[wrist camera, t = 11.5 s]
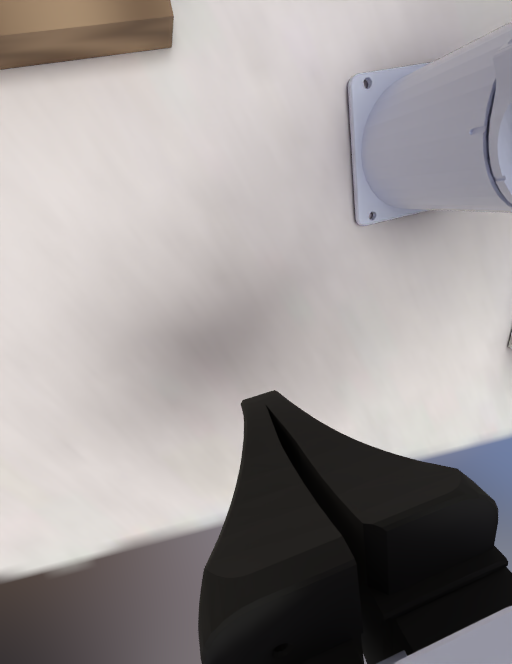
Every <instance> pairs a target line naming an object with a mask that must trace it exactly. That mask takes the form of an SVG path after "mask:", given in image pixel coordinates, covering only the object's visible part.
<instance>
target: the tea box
mask: <svg viewBox="0 0 512 664" xmlns="http://www.w3.org/2000/svg"><path fill="white" fill-rule="evenodd" d="M508 347H510V348H511V349H512V334H511V338H510V342H509V346H508Z"/></svg>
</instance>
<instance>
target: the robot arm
mask: <svg viewBox="0 0 512 664" xmlns="http://www.w3.org/2000/svg"><path fill="white" fill-rule="evenodd" d="M364 80H366V81H367V82H368V88H367V89H366V88H365V87H364V84H363V83H364ZM348 96H349V113H350V130H351V147H352V165H353V182H354V199H355V216H356V222H357V223H358V224H359V225H361V226H366V225H370V224H375V223H379V222H383V221H387V220H391V219H395V218H399V217H404V216H408V215H412V214H416V213H420V212H424V211H428V210H450V211H479V212H507V213H512V22H510V23H508V24H506V25H504V26H502V27H500V28H498V29H496V30H495V31H493V32H491V33H489V34H487V35H485V36H483V37H481V38H479V39H477V40H475V41H473V42H471V43H469V44H467V45H465V46H463V47H461V48H459V49H457V50H455V51H453V52H451V53H449V54H447V55H445V56H443V57H442V58H440V59H438V60H436V61H434V62H429V63H423V64H416V65H410V66H404V67H397V68H391V69H385V70H378V71H372V72H365V73H359V74H356V75H355V76H353V77H352V78H351V79H350V81H349V83H348ZM371 212H372V213H373V217H372V219H370V218H369V214H370V213H371ZM241 407H242V411H243V415H244V441H243V450H242V458H241V465H240V470H239V475H238V479H237V484H236V487H235V491H234V495H233V498H232V502H231V505H230V508H229V511H228V514H227V516H226V519H225V522H224V525H223V527H222V530H221V533H220V535H219V538H218V540H217V542H216V544H215V547H214V549H213V551H212V553H211V555H210V558H209V560H208V562H207V564H206V566H205V568H204V572H203V579H202V586H201V594H200V603H199V621H198V622H199V623H198V631H199V642H200V654H201V661H202V664H364V659H363V654H364V656H365V659H366V662H367V664H512V573H511V572H510V571H509V570H508V568H507V567H506V566H507V565H508V561H507V559H506V557H505V556H504V555H503V554H502V553H501V552H500V551H499V550H498V549H497V548H496V547H495V546H494V541H495V536H496V530H497V525H498V508H497V505H496V503H495V501H494V500H493V499H492V498H491V497H490V496H488V494H486V493H485V492H484V491H483V490H482V489H481V488H480V487H479V486H478V485H477V484H476V483H474V482H473V481H472V480H471V479H470V478H468V477H467V476H466V475H465V474H463V473H462V472H461V471H459V470H458V469H456V468H451V467H446V466H441V465H436V464H432V463H426V462H422V461H418V460H414V459H410V458H407V457H403V456H399V455H396V454H393V453H390V452H386V451H383V450H381V449H378V448H375V447H372V446H370V445H367V444H364V443H362V442H359V441H357V440H355V439H352V438H350V437H348V436H346V435H344V434H342V433H340V432H338V431H336V430H334V429H332V428H330V427H329V426H327V425H325V424H323V423H322V422H320V421H318V420H317V419H315V418H313V417H312V416H310V415H309V414H307V413H306V412H304V411H303V410H301V409H300V408H298V407H297V406H296V405H294V404H293V403H291V402H290V401H289V400H287V399H286V398H285V397H284V396H282V395H281V394H280V393H279V392H277V391H275V390H274V391H271V392H267V393H264V394H261V395H258V396H255V397H252V398H248V399H245V400H243V401H242V403H241Z"/></svg>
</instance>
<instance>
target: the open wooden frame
mask: <svg viewBox="0 0 512 664" xmlns="http://www.w3.org/2000/svg"><path fill="white" fill-rule="evenodd" d="M173 17H174V16H173V11H172V7H171V2H170V0H0V69H8V68H15V67H23V66H31V65H39V64H46V63H54V62H62V61H69V60H77V59H85V58H93V57H100V56H108V55H116V54H124V53H131V52H139V51H147V50H155V49H162V48H170V47H172V33H173Z"/></svg>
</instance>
